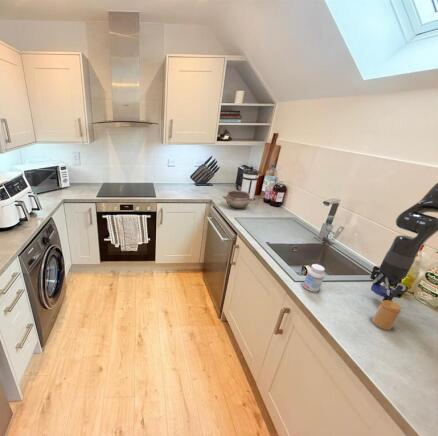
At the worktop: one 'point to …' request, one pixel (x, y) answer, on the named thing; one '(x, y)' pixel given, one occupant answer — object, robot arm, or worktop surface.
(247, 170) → the coffee press
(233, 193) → the cooking pot
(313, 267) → the pill bottle
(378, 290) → the lid
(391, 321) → the jar
